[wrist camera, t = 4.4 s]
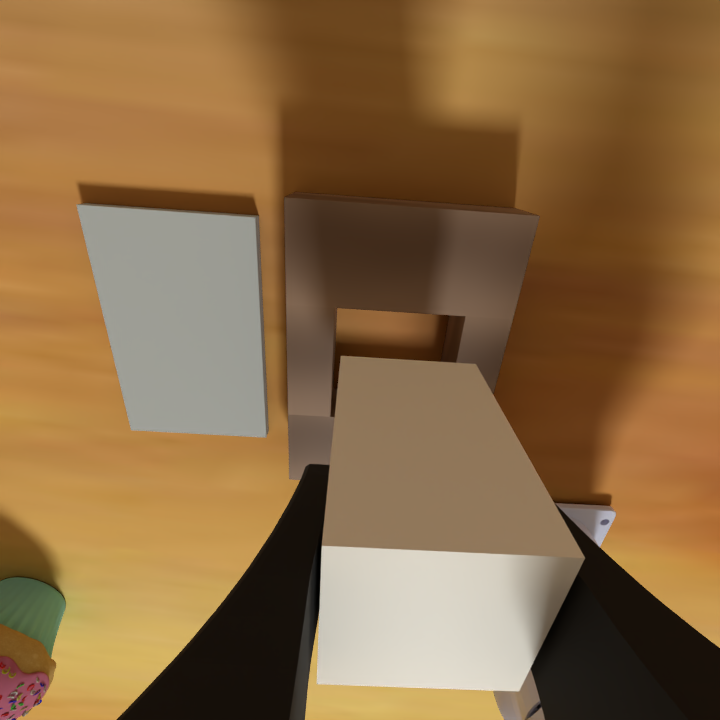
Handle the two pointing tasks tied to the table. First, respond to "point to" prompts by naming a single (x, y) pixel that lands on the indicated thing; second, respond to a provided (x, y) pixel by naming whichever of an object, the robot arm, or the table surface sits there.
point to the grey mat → (182, 316)
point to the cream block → (434, 535)
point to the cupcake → (26, 643)
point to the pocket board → (392, 289)
